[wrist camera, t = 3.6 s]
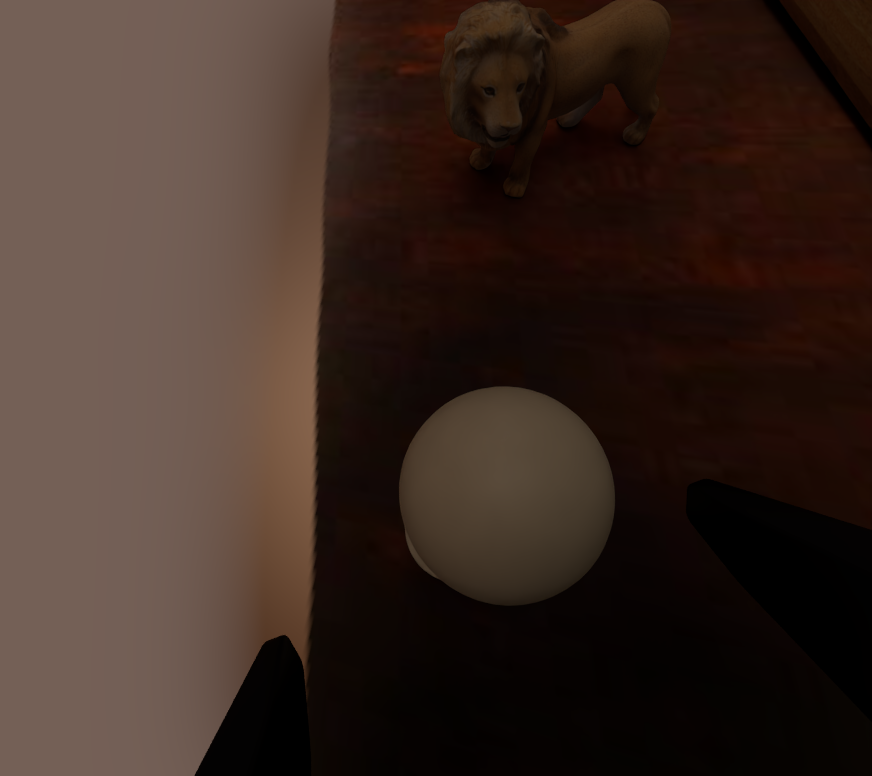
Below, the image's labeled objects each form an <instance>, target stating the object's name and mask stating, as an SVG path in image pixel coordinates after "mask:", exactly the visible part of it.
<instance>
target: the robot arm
mask: <svg viewBox="0 0 872 776" xmlns="http://www.w3.org/2000/svg"><path fill="white" fill-rule="evenodd" d="M686 513H687V516H688V519H689V521H690V522H691V524H692V525H693V526H694V527H695V529H696V530H697V531H698V532H699V534H700V535H701V536H702V537H703V539H704V540H705V541H706V542H707V544H708V545H709V546H710V547H711V549H712V550H713V551H714V552H715V554H716V555H717V556H718V557H719V559H720V560H721V561H722V562H723V564H724V565H725V566H726V567H727V569H728V570H729V571H730V572H731V574H732V575H733V576H734V577H735V578H736V580H737V581H738V582H739V583H740V584H741V585H742V586H743V587H744V588H745V590H746V591H747V592H748V593H749V594H750V595H751V596H752V597H753V598H754V599H755V600H756V601H757V602H758V603H759V604H760V605H761V606H762V607H763V608H764V610H765V611H766V612H767V613H768V614H769V615H770V616H771V617H772V618H773V619H774V620H775V621H776V622H777V623H778V624H779V625H780V626H781V627H782V628H783V629H784V630H785V631H786V633H787V634H788V635H789V636H790V637H791V638H792V639H793V640H794V641H795V642H796V643H797V644H798V645H799V646H800V647H801V648H802V649H803V650H804V651H805V652H806V653H807V654H808V656H809V657H810V658H811V659H812V660H813V661H814V662H815V663H816V664H817V665H818V666H819V667H820V668H821V669H822V670H823V671H824V672H825V673H826V674H827V675H828V676H829V678H830V679H831V680H832V681H833V682H834V683H835V684H836V685H837V686H838V687H839V688H840V689H841V690H842V691H843V692H844V693H845V694H846V695H847V696H848V697H849V698H850V699H851V701H852V702H853V703H854V704H855V705H856V706H857V707H858V708H859V709H860V710H861V711H862V712H863V713H864V714H865V715H866V716H867V717H868V718H869V719H870V720H871V721H872V530H870V529H867V528H863V527H860V526H857V525H854V524H851V523H847V522H844V521H841V520H838V519H835V518H832V517H828V516H825V515H822V514H819V513H816V512H812V511H809V510H806V509H803V508H800V507H796V506H793V505H790V504H787V503H784V502H781V501H777V500H774V499H771V498H768V497H765V496H761V495H758V494H755V493H752V492H749V491H746V490H742V489H739V488H736V487H733V486H730V485H726V484H723V483H720V482H717V481H714V480H710V479H702V480H699V481H697V482H694V483H691V484H690V485H689V486H688V489H687V505H686ZM195 776H311V751H310V737H309V726H308V714H307V703H306V691H305V679H304V669H303V664H302V661H301V659H300V657H299V655H298V653H297V651H296V650H295V648H294V647H293V645H292V643H291V641H290V639H289V638H288V637H287V636H286V635H282V636H279V637H277V638H274V639H271V640H268V641H266V642H265V643H264V644H263V646H262V647H261V649H260V651H259V653H258V655H257V657H256V659H255V661H254V662H253V664H252V666H251V668H250V670H249V672H248V674H247V676H246V678H245V680H244V682H243V684H242V685H241V687H240V689H239V691H238V693H237V695H236V697H235V699H234V701H233V703H232V705H231V707H230V709H229V710H228V712H227V714H226V716H225V719H224V720H223V722H222V724H221V726H220V728H219V730H218V732H217V733H216V735H215V737H214V739H213V741H212V743H211V745H210V747H209V749H208V751H207V753H206V755H205V756H204V758H203V760H202V762H201V764H200V766H199V768H198V770H197V772H196V774H195Z"/></svg>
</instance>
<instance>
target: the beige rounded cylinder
mask: <svg viewBox="0 0 872 776" xmlns="http://www.w3.org/2000/svg"><path fill="white" fill-rule="evenodd" d="M399 500H400V508H401V514H402V518H403V522H404V526H405V535H406V540H407V544H408V547H409V550H410V552H411V554H412V556H413V558H414V559H415V560H416V562H417V563H418V564H419V566H420V567H421V568H422V569H423V570H425V571H426V572H427V573H428V574H430V575H432V576H433V577H435V578H437V579H440V580H442V581H443V582H444V583H446V584H447V585H448V586H450V587H451V588H453V589H455V590H456V591H458V592H460V593H461V594H463V595H466V596H468V597H470V598H473V599H475V600H478V601H482V602H486V603H490V604H496V605H505V606H511V605H525V604H530V603H536V602H539V601H542V600H545V599H548V598H551V597H553V596H555V595H557V594H559V593H560V592H562V591H564V590H566V589H568V588H569V587H570V586H572V585H573V584H574V583H576V582H577V581H578V580H580V579H581V578H582V577H583V576H584V575H585V574H586V573H587V572H588V571H589V570H590V568H591V567H592V566H593V564H594V563H595V562H596V560H597V559H598V557H599V555H600V554H601V552H602V550H603V548H604V546H605V544H606V541H607V538H608V536H609V533H610V530H611V526H612V522H613V517H614V508H615V489H614V483H613V477H612V472H611V469H610V466H609V462H608V460H607V457H606V455H605V453H604V451H603V448H602V447H601V445H600V443H599V442H598V440H597V438H596V437H595V435H594V434H593V433H592V431H591V430H590V429H589V427H588V426H587V425H586V424H585V423H584V422H583V421H582V420H581V419H580V418H579V417H578V416H577V415H576V414H575V413H574V412H572V411H571V410H570V409H569V408H567V407H566V406H564V405H563V404H561V403H560V402H558V401H557V400H555V399H553V398H550V397H548V396H546V395H544V394H541V393H538V392H536V391H533V390H528V389H524V388H517V387H491V388H484V389H479V390H475V391H472V392H468V393H466V394H464V395H461V396H459V397H457V398H455V399H453V400H451V401H450V402H448V403H446V404H445V405H444V406H442V407H441V408H440V409H438V410H437V411H436V412H435V413H434V414H433V415H432V416H431V417H430V418H429V419H428V420H427V421H426V422H425V423H424V424H423V426H422V427H421V428H420V430H419V431H418V432H417V434H416V435H415V437H414V439H413V440H412V442H411V444H410V446H409V448H408V451H407V453H406V456H405V458H404V462H403V466H402V470H401V476H400V484H399Z"/></svg>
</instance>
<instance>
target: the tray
mask: <svg viewBox="0 0 872 776" xmlns="http://www.w3.org/2000/svg"><path fill="white" fill-rule="evenodd" d="M779 1H780V2H781V4H782V5H783V7H784V8H785V9H786V11H787V12H788V14H789V15H790V17H791V18H792V19H793V21H794V22H795V23H796V25H797V26H798V27H799V29H800V30H801V31H802V33H803V34H804V36H805V37H806V38H807V40H808V41H809V43H810V44H811V45H812V47H813V48H814V50H815V51H816V52H817V54H818V55H819V57H820V58H821V59H822V61H823V62H824V64H825V65H826V66H827V68H828V69H829V70H830V72H831V73H832V75H833V76H834V77H835V79H836V80H837V82H838V83H839V85H840V86H841V88H842V89H843V90H844V92H845V93H846V95H847V96H848V98H849V99H850V100H851V102H852V103H853V105H854V106H855V107H856V109H857V110H858V112H859V113H860V115H861V116H862V117H863V119H864V120H865V122H866V123H867V124H868V126H869V127H870V129H871V130H872V0H779Z"/></svg>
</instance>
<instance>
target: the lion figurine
mask: <svg viewBox="0 0 872 776" xmlns="http://www.w3.org/2000/svg"><path fill="white" fill-rule="evenodd" d="M670 34H671V21H670V16H669V14H668V12H667V10H666V9H665V8H664V7H663V6H662V5H660V4H659V3H657V2H655V1H649V0H615V1H613V2H611V3H610V4H608V5H607V6H605V7H603V8H602V9H600V10H599V11H597V12H595V13H593V14H592V15H590V16H588V17H586V18H584V19H581V20H579V21H577V22H574V23H571V24H568V25H565V26H559V25H557V24H555V23H554V22H553V20H552V18H551V17H550V16H549V15H548V14H547V12H546V11H545V10H544V9H542V8H535V9H534V8H530V7H525V6H524V5H522V4H521V3H520V2H519V0H489V1H488V2H482V3H478V4H476V5H474V6H473V7H471V8H469V9H467V10H466V11H465V12H463V13H462V14H461V15H460V17H459V20H458V25H457V27H456V28H455V29H454V30H453V31H450V32H448V33H447V34H446V36H445V41H444V42H445V53H444V56H443V60H442V65H441V70H440V80H441V86H442V91H443V93H444V99H445V110H446V114H447V118H448V121H449V124H450V126H451V129H452V130H453V133H454V134H456V135H458V136H459V137H462V138H465V139H468V140H471V141H474V142H476V143H477V144H479V145H480V146H481V148H480V149H474V150H473V152H472V154H471V156H470V165H471V166H472V167H474V168H475V169H476V170H482V169H485V168H487V167H488V166H489V165H490V164H491V162H492V160H493V158H494V155H495V152H496V150H499V149H504V148H506V147H508V146H509V145H514V144H515V159H514V161H513V164H512V166H511V168H510V171H509V177H508V178H507V179H506V180H505V181H504V184H503V189H504V191H505V194H506V195H509V196H511V197H518V198H520V197H522V196H523V194H524V192H525V189H526V186H527V184H528V181H529V174H530V167H531V163H532V161H533V158H534V155H535V153H536V151H537V150H538V147H539V145H540V142H541V139H542V136H543V133H544V131H545V128H546V126H547V121H548V120H549V119H553V118H556V117H557V121H558V122H559V124H560V125H561V126H562V127H572V126H575V125H576V124H578V123H579V122H580V120H581V119H582V118H583V117H584V116H585V115H586V114H587V113H588V112H589V111H590V110H591V109H592V108H593V107H594V106H595V105H596V104H597V103H598V102H599V101H600V100H601V98H602V95H603V90H604V86H605V85H606V84H609V83H613V84H615V86H616V87H617V89H618V90H619V92H620V94H621V96H622V98H623V100H624V102H625V104H626V106H627V107H628V108H629V109H631V110H632V111H634V112H635V113H636V114H638V115H639V118H638V120H637V121H636V122H635V123H634V124H632V125H629V126H628V127H627V128H626V129H625V130H624V132H623V139H624V141H626V142H627V143H628V144H631V145H637V144H639V143H641V142H642V141H643V139H644V138H645V136H646V133H647V131H648V129H649V127H650V124H651V122H652V119H653V117H654V116H655V114H656V112H657V108H658V104H659V98H658V97H657V95H656V94H655V89H656V82H657V78H658V74H659V71H660V69H661V66H662V64H663V61H664V58H665V55H666V52H667V48H668V44H669V40H670Z"/></svg>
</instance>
